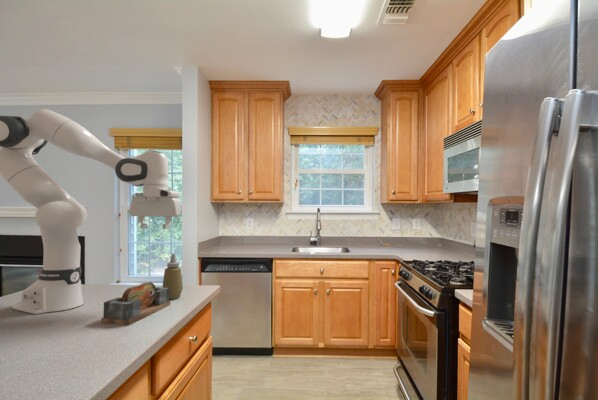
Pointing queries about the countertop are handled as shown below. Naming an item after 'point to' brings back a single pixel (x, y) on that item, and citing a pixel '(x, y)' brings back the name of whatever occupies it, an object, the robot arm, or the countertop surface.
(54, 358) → the countertop surface
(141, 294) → the tin
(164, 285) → the squeeze bottle
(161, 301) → the stand
